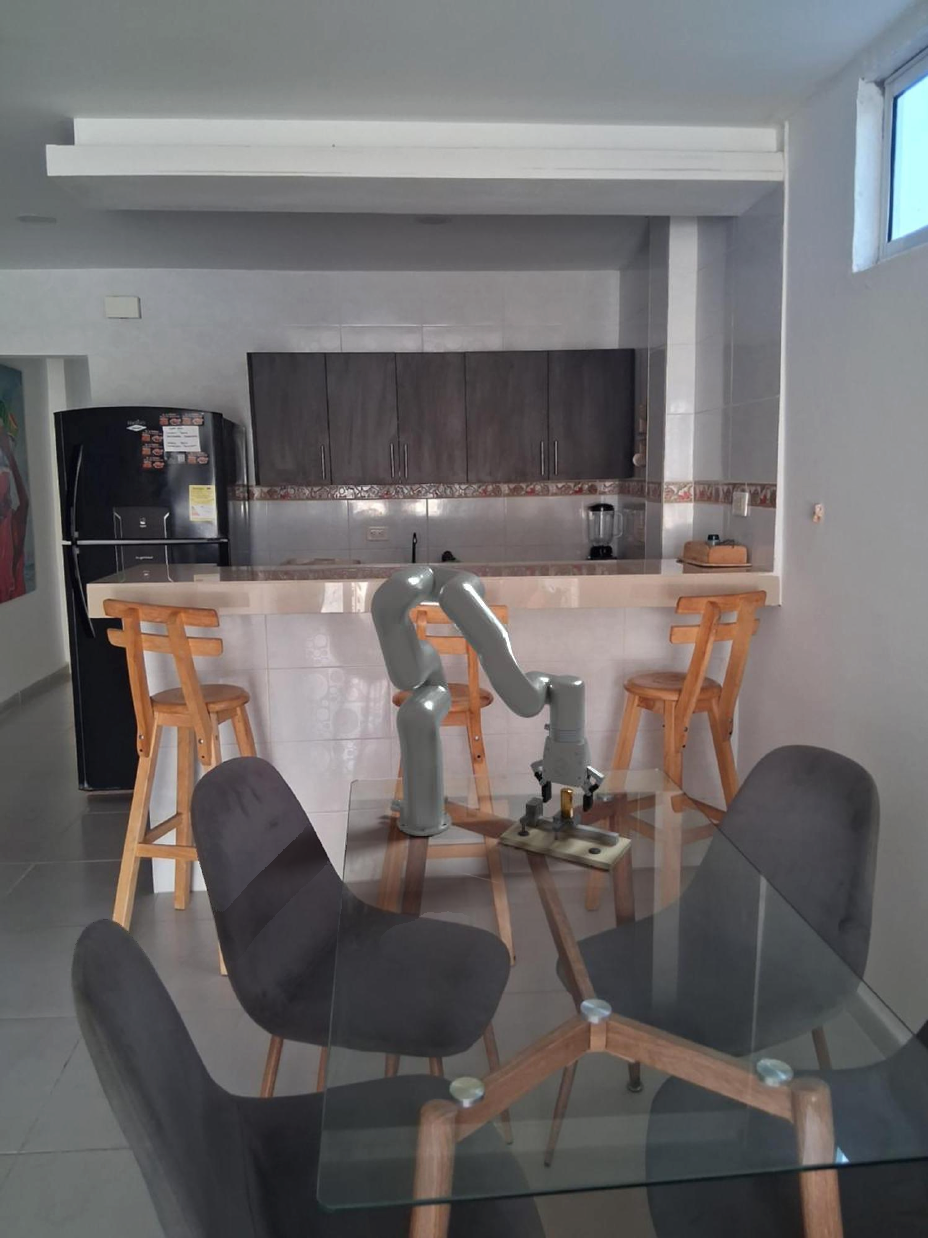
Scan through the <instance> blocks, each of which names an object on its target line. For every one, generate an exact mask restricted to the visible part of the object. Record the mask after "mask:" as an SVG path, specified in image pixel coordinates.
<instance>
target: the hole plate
mask: <svg viewBox="0 0 928 1238" xmlns="http://www.w3.org/2000/svg"><path fill="white" fill-rule="evenodd" d="M554 825H555V824H554V823H553V817H550V816H549V817H548V816H544V803H543V798H540V797H534V796H533V797H532V798H530V799H529V800H528V801H527V802H526V803H525V814H524V815H523V816H521V817H520V818H519V819H518V820H517V821H516V822H515V823H513V825H512V826H510V827H509V828H508V829H507V830H506V831H504V832H503V833H502V834H501V835H500V837H499V839H500V840H499V843H500V844H505V845H508V846H512V847H516V848H519V849H525V850H528V851H532V852H536V853H540V854H544V855H548V856H551V857H556V858H559V859H563V860H568V861H571V862H575V863H579V864H582V865H587V864H588V866H591V865H593V866H592V867H594V868H599V869H603V870H606V871H607V870H608V871H611V870H612V869H613V868H614V867H615V866H616V864H618V862H619V861H620V860H621V858H622V857H623V856H624V855H625V854H626V853H627V852H628V850H629V849H630V848H631V847H632V839H629V838H626V837H625V838H624V837H620V833H618V832H614V831H611V830H606V829H601V828H598V827H592V826H588V825H584V824H579V823H578V824H577V825H576V826H575V827H574V828H571V827H567V826H565V827H563V828H562V829H561V830H560V831H559V832H558V840H554V831H553V826H554Z"/></svg>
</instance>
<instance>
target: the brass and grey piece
mask: <svg viewBox="0 0 928 1238" xmlns="http://www.w3.org/2000/svg"><path fill="white" fill-rule="evenodd" d="M552 818H553V823H554V824H555V825H554V826H553V831H554V840H558V832H559V831H560V830H561V829H562V828H563V827H565V826H567V827H571V828H574V827H575V826H576V825H577V824H579V823H581V821H582V814H581V813H578V812H574V789H573V788H570V787H562V788H561V789H560V809H559V810H558V811H557V812H556V813H555V814H554V815H553V816H552Z"/></svg>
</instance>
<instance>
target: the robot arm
mask: <svg viewBox="0 0 928 1238" xmlns="http://www.w3.org/2000/svg"><path fill="white" fill-rule="evenodd" d="M485 596H486V588H485V585H484V583H483V581H482V579H481V578H479V576H477V575H476V574H474V573H472V572H469V571H465V570H461V569H457V568H449V567H446V566H445V567H444V566H441V565H440V566H439V565H436V564H435V565H434V564H430V563H429V564H428V563H425V562H424V563H423V562H421V563H420V562H419V563H418V562H417V563H412V564H409V565H407V566H406V567H404V568H402V569H401V570H398V571H396V572H395V573H394V574H392V575H391V576H389V577H388V578H387V579H385V581H383V582H382V583H381V585H379V587H378V588H377V589H376V590H375V592H374V594H373V596H372V599H371V604H370V612H371V613H370V614H371V618H372V619H371V620H372V622H373V625H374V627H375V628H374V629H375V631H376V634H377V638H378V642H379V646H380V650H381V653H382V657H383V660H384V663H385V667H386V670H387V675H388V678H389V680H390V682H391V683H392V685H393V686H394V688H396V689H397V690H399V691H401V692H410V694H409V695H408V696H407V697H406V699H404V701H403V702H402V703H401V705H399V708H398V711H397V713H396V729H397V734H398V741H399V748H400V765H401V787H402V789H401V791H402V799H397V798H393V799H392V802H391V806H390V811H392V812H395V813H396V812H397V813H398V814H399V816H398V817H397V821H396V823H397V824H396V825H397V827H398V830H399V831H401V830H402V831H403V832H402V831H401V832H402V833H404V832H405V833H404V834H408V835H410V836H416V837H417V836H418V837H428V836H434V835H438V834H441V833H443V832H445V831H446V830H448V829H449V828H450V827H451V826H452V815H450V814H449V813H448V812H447V811H446V810H445V790H444V789H445V787H444V786H445V785H444V763H443V762H444V761H443V760H444V759H443V755H444V754H443V744H442V740H441V734H440V726H441V724H442V722H443V721H444V720H445V718H446V717H447V715H448V714H449V712H450V710H451V707H452V696H451V691H450V688H449V685H448V684H449V683H448V679H447V678H446V674H445V670H444V667H443V663H442V659H441V656H440V654H439V652H438V649H437V648H436V647H435V646H434V645H433V643H431V642H429V641H428V640H426V639H423V638H419V637H418V633H417V629H416V626H415V624H414V622H413V620H412V618H411V617H410V612H411V611H412V609H414V608H416V607H417V606H420V604H422V603H423V602H425V601H428V602H433V603H438V605H439V607H440V609H441V611H442V612H443V613H444V615H445V616H446V617H447V618H448V619H449V621H450V622H451V623H452V624H453V626H454V627H455V629H456V630H457V631H458V632H459V634H460V635H461V636H462V637H463V638H464V639H465V641H466V642H467V643H468V644H469V646H470V647H471V649H472V650H473V651H474V652H475V654H476V656H477V658H478V661H479V664H480V666H481V669H482V670H483V672H484V674H485V677H486V678H487V680H488V682H489V684H490V685H491V687H492V689H493V690H494V691H495V693H496V694H497V695H498V697H499V698H500V699H501V700H502V702H503V703H504V704H505V705H506V707H507V708H508V709H509V710H511V712H512V713H513V714H515V715H516V716H518V717H520V718H524V719H530V718H534V717H536V716H538V715H539V714H540V713H541V712H542V711H543V709H544V708H545V706H549V723H544V727H543V728H544V730H546V731H548V735H547V736H546V737H545V740H544V741H545V742H544V746H543V752H542V753H543V754H542V759H541V758H540V759H538V760H536V761H533V762H532V763H530V767H531V771H532V772H533V773H534V774H533V776H534V777H535V779H536V780H537V781H538V784H539V786H541V787H540V788H541V790H540V791H541V798H542V799H543V804H547V803H548V802H549V801H550V800H551V799H552V798H553V797H552V795H553V794H552V793H553V791H552V789H553V788H552V787H553V785H552V783H553V784H558V785H564V786H567V787H573V788H580V789H581V790H582V791H583V792H584V794H583V796H582V811H583V812H584V813H587V812H588V811H589V810H590V809H592V808H593V806H594V793H595V792H596V791H597V790H598V789H600V788H601V786H602V784H604V781H605V779H606V776H604V775H603V774H602V773H601V772H599V771H598V770H596V769H595V768H593V767H592V763H591V753H590V746H589V742H588V739H587V738H586V737H585V729H586V728H585V722H586V721H585V711H586V710H585V709H586V708H585V707H586V706H585V705H586V704H585V703H586V697H585V696H586V694H585V693H586V692H585V691H586V689H585V685H586V684H585V682H584V680H583V679H582V678H581V677H579V676H575V675H570V674H563V675H562V674H561V675H557V674H551V673H548V672H547V673H546V672H542V671H535V670H532V671H527V672H525V673H524V672H523V671H522V669H521V668H520V666H519V665H518V662H517V661H516V658H515V656H514V654H513V651H512V647H511V645H512V644H511V638H510V634H509V631H508V629H507V626H506V625H504V623H503V622H502V621H501V620H500V618H499V617H498V616H497V615H496V613H495V612H494V611H493V610H492V608H491V607H490V606H489V604H487V602H486V600H484V598H485ZM540 767H541V769H540ZM591 777H592V778H593V779H595V782H594V784H593V783H592V781H591Z"/></svg>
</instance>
